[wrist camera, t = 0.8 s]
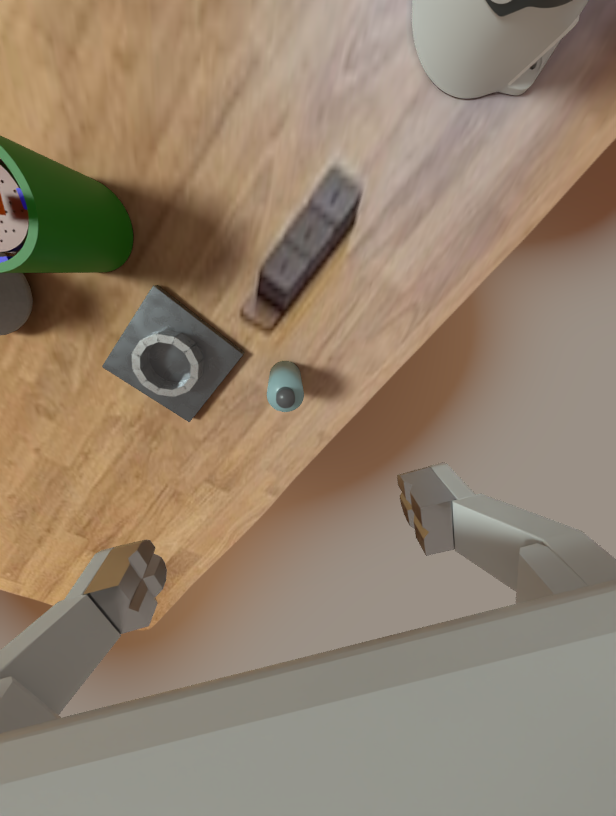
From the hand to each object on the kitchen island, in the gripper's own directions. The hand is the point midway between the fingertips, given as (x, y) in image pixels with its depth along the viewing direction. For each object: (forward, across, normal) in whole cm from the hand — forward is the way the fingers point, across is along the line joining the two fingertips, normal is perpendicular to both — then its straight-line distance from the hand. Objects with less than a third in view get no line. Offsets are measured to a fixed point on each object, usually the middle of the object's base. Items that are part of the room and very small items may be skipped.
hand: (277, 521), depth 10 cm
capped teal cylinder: (+37, +1, +6) cm, 38 cm away
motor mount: (+37, +15, 0) cm, 40 cm away
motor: (+37, +18, -18) cm, 45 cm away
